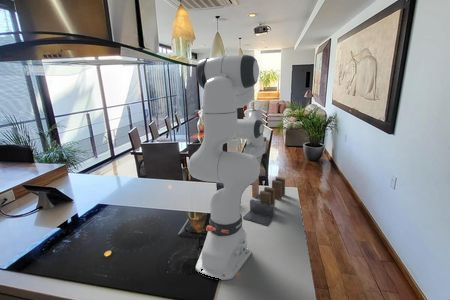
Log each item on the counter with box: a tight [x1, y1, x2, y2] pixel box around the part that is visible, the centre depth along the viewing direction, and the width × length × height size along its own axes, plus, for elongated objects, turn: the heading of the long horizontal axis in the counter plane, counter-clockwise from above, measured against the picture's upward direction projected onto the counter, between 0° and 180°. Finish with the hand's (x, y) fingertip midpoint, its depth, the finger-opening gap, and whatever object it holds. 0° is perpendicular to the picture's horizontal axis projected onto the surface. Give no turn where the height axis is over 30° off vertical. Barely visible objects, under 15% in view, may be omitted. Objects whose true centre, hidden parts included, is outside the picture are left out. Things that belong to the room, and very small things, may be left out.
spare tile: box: [251, 177, 260, 199], centre depth 133 cm, size 2×5×10 cm, turn 146°
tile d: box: [263, 186, 276, 205], centre depth 121 cm, size 2×5×10 cm, turn 56°
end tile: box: [275, 176, 286, 197], centre depth 133 cm, size 2×5×10 cm, turn 56°
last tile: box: [259, 190, 271, 204], centre depth 117 cm, size 2×5×10 cm, turn 56°
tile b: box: [271, 179, 283, 201], centre depth 129 cm, size 2×5×10 cm, turn 56°
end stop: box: [242, 199, 276, 227], centre depth 112 cm, size 9×12×6 cm
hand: (255, 165), depth 130 cm, fingers open, 8 cm apart
